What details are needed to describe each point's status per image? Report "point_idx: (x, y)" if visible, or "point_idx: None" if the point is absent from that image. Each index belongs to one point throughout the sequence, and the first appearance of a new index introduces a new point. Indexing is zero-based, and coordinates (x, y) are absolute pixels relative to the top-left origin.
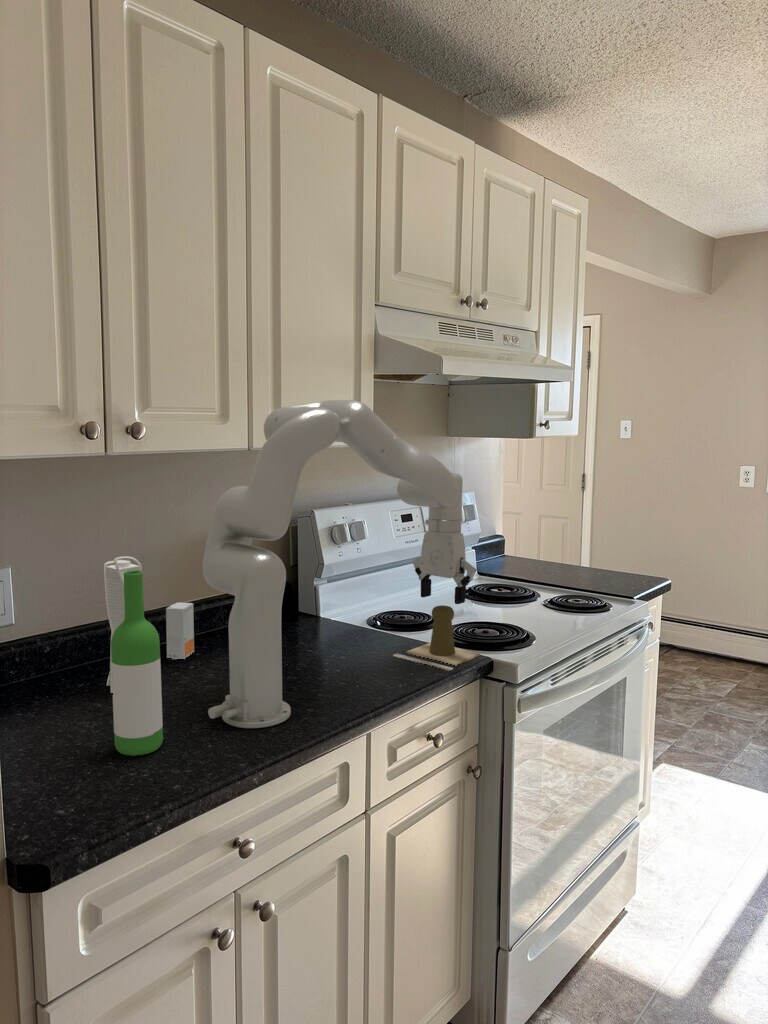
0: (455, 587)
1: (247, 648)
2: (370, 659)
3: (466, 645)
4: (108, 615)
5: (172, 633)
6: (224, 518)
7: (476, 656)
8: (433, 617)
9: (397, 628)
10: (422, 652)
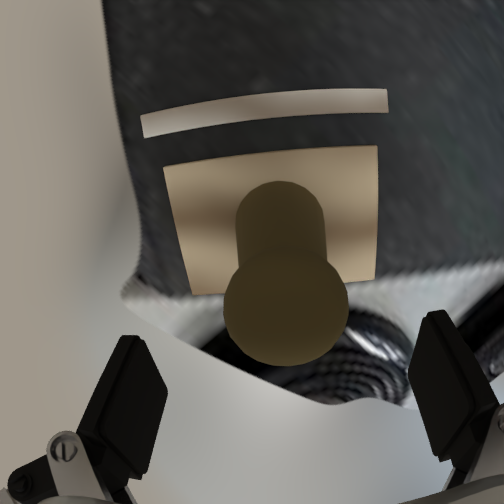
0: (93, 427)
1: None
2: (407, 21)
3: None
4: None
5: None
6: None
7: (189, 275)
8: (306, 249)
9: (500, 302)
10: (327, 174)
